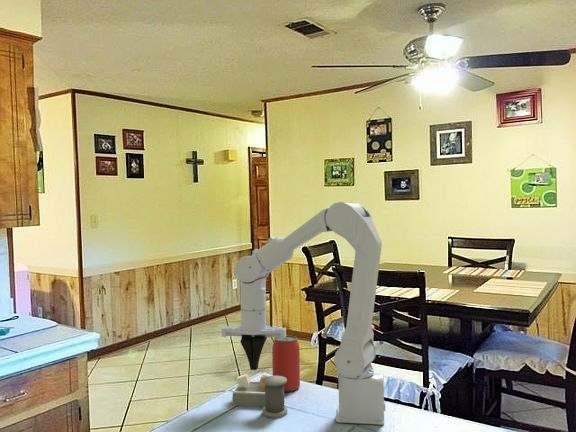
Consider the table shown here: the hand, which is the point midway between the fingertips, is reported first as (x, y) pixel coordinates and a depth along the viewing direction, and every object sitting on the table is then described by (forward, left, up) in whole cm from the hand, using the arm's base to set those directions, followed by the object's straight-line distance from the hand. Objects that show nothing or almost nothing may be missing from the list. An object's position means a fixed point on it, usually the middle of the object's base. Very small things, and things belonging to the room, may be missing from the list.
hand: (254, 368), depth 111 cm
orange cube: (-2, 0, -4) cm, 5 cm away
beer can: (-6, -8, -7) cm, 12 cm away
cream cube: (+2, 0, -4) cm, 5 cm away
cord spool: (-6, +7, -7) cm, 12 cm away
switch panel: (0, 0, -7) cm, 7 cm away
